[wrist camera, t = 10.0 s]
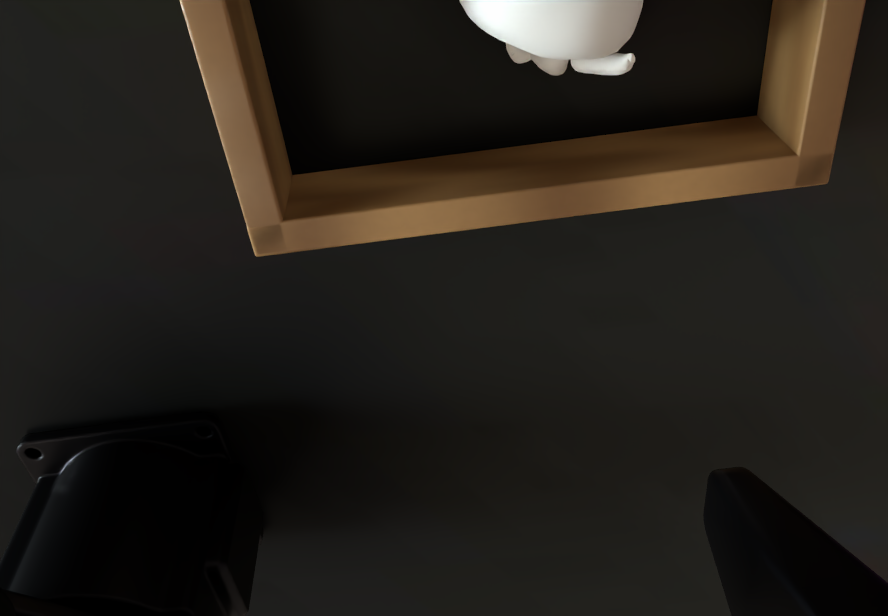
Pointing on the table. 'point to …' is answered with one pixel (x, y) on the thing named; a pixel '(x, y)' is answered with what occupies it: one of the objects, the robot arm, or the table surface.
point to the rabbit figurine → (561, 32)
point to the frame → (527, 146)
